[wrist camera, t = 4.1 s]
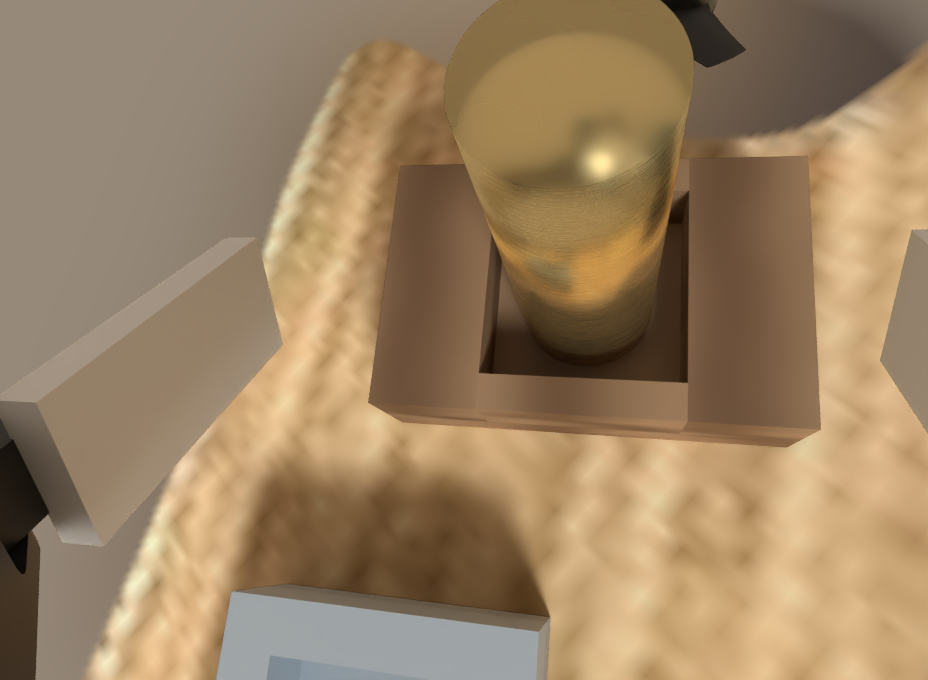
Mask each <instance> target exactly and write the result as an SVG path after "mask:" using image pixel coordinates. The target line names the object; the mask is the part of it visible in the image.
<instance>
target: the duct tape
mask: <svg viewBox="0 0 928 680" xmlns="http://www.w3.org/2000/svg"><path fill="white" fill-rule="evenodd" d="M660 1H662V2H663V3H664V4H665V5H666V6H667V7H668V8H669V9H670V10H671V11H672V12H673V13H674V14H675V16H676V17H677V18H678V20H679V21H680V23H681V24H682V26H683V28H684V30H685V32H686V34H687V36H688V38H689V41H690V44H691V48H692V51H693V59H694V60H695V61H697V62H698V63H700V64H702V65H703V66H705V67H711V66H714V65H717V64H720V63H722V62H724V61H727V60H729V59H731V58H733V57H735V56H737V55H739V54H740V53H742V52H744V51H745V50H746V49H745V48H744V47H743V46H742V45H741V44H740V43H739V42H738V41H737V40H736V39H735V38H734V37H733V36H732V35H731V34H730V33H729V32H728V30H727V29H726V28H725V27H724V26H723V25H722V24H721V22H720V21H719V20H718V18H717V17H716V16H715V15H714V14H713V12H714V9H715V7H716V4H717V0H660Z"/></svg>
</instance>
